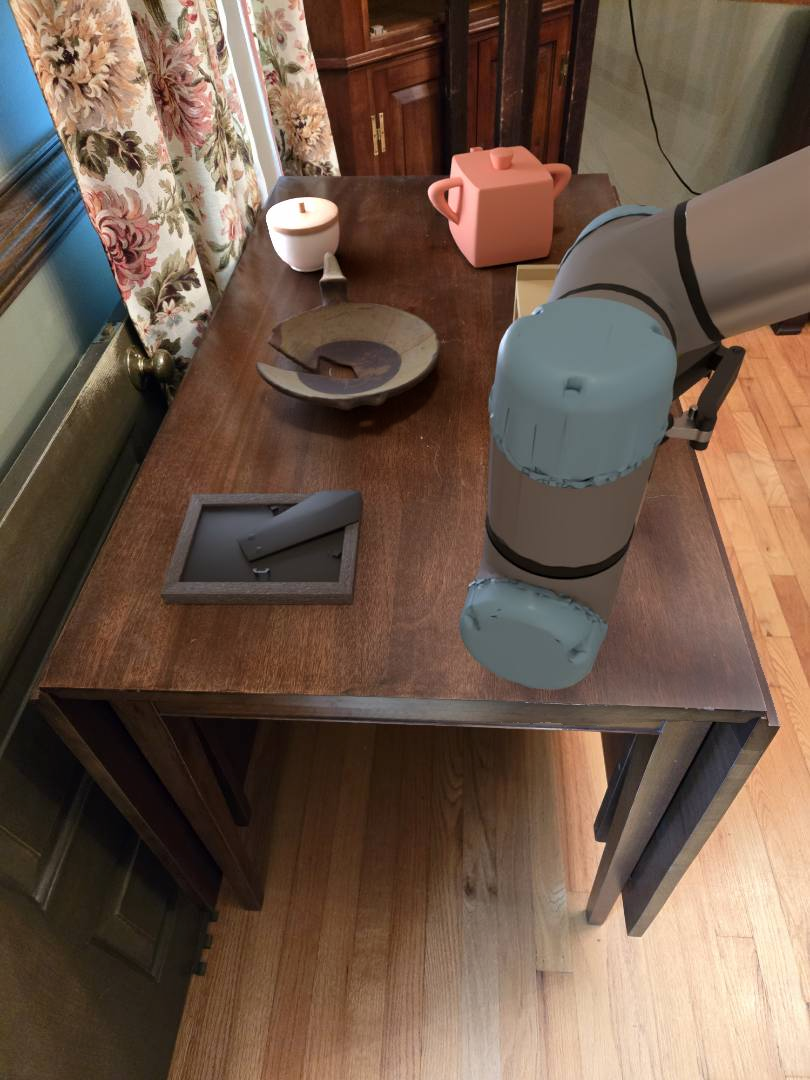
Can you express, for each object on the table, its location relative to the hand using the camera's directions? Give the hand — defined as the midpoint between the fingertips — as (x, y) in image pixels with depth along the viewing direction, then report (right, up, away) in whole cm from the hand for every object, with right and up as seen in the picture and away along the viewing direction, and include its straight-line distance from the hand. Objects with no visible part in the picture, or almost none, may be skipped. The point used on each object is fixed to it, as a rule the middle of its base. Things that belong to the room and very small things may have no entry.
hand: (654, 296), depth 61 cm
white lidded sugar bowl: (-36, +23, +52) cm, 67 cm away
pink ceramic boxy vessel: (-7, +28, +55) cm, 62 cm away
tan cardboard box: (0, 0, +30) cm, 30 cm away
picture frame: (-34, -22, +12) cm, 43 cm away
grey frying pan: (-27, +2, +33) cm, 43 cm away
